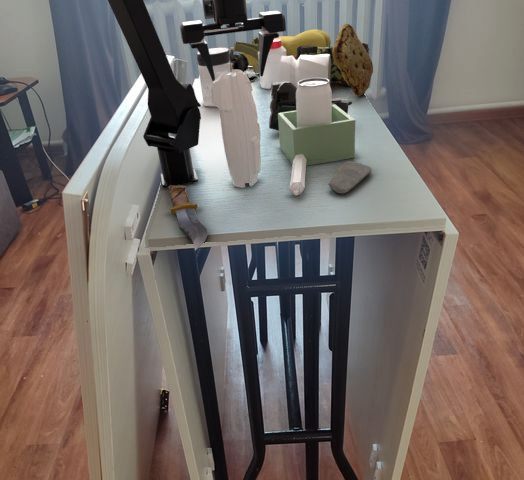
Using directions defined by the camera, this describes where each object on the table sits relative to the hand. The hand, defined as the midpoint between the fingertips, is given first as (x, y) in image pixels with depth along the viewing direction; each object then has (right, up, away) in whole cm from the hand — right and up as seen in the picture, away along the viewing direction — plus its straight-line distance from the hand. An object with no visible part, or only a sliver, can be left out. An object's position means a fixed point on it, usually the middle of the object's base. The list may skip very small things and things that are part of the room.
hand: (237, 79), depth 102 cm
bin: (+15, -14, +2) cm, 20 cm away
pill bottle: (+8, +22, +47) cm, 52 cm away
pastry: (+26, +19, +30) cm, 44 cm away
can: (+15, -13, +1) cm, 20 cm away
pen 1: (-3, +25, +50) cm, 56 cm away
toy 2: (-1, +43, +71) cm, 83 cm away
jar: (-6, +13, +38) cm, 40 cm away
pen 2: (+16, +9, +29) cm, 34 cm away
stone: (+17, -22, -11) cm, 30 cm away
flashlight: (+1, -22, -7) cm, 23 cm away
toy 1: (-7, +26, +50) cm, 57 cm away
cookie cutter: (+4, +33, +54) cm, 63 cm away
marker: (+11, -23, -9) cm, 27 cm away
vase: (+22, +18, +33) cm, 44 cm away
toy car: (+22, +21, +36) cm, 47 cm away
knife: (-5, -30, -17) cm, 34 cm away
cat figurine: (+15, -1, +18) cm, 23 cm away
